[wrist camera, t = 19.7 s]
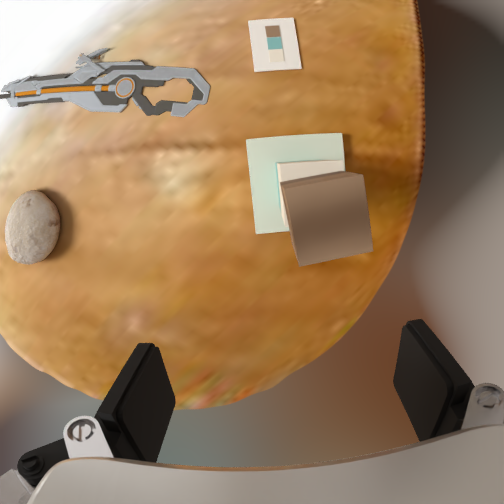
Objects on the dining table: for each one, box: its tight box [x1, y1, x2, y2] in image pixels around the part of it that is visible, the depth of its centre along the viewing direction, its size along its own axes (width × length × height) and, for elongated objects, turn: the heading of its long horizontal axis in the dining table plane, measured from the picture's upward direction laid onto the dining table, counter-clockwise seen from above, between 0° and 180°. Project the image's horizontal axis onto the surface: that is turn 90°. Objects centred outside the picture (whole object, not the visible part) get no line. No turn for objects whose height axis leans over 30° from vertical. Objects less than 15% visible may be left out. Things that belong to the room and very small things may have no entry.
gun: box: [0, 48, 210, 117], centre depth 34 cm, size 39×2×10 cm
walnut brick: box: [280, 171, 373, 267], centre depth 23 cm, size 6×6×6 cm
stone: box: [5, 190, 60, 264], centre depth 39 cm, size 13×10×8 cm
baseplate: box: [246, 133, 345, 234], centre depth 38 cm, size 12×12×1 cm
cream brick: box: [277, 160, 344, 227], centre depth 29 cm, size 6×6×6 cm
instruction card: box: [248, 18, 302, 72], centre depth 33 cm, size 8×6×1 cm
